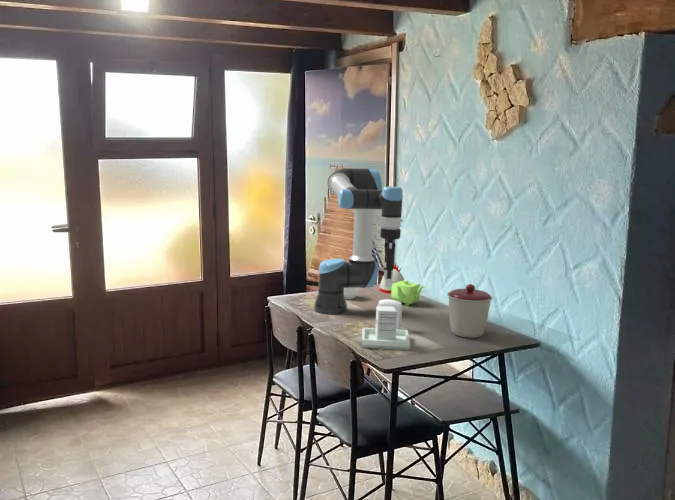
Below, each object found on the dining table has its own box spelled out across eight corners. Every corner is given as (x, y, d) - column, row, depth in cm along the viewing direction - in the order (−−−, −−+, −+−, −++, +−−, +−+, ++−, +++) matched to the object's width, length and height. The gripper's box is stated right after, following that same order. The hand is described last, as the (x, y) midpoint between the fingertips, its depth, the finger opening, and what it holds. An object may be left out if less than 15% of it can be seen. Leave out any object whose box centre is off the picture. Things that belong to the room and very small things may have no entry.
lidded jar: (335, 295, 318) (336, 277, 316) (356, 295, 319) (357, 277, 318) (338, 300, 307) (338, 281, 306) (359, 300, 309) (360, 281, 307)
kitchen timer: (383, 286, 341) (384, 259, 338) (408, 289, 336) (409, 262, 334) (376, 292, 328) (377, 264, 325) (402, 295, 323) (404, 266, 321)
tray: (361, 347, 237) (361, 339, 237) (362, 334, 253) (362, 327, 252) (409, 350, 236) (409, 342, 236) (407, 337, 252) (407, 329, 252)
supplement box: (374, 336, 248) (376, 305, 245) (393, 337, 248) (394, 306, 246) (376, 342, 240) (378, 310, 238) (395, 343, 241) (397, 311, 239)
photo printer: (401, 328, 264) (403, 299, 262) (399, 331, 260) (401, 302, 258) (378, 325, 267) (379, 297, 265) (375, 328, 263) (376, 299, 261)
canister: (435, 332, 261) (438, 282, 257) (465, 325, 271) (468, 278, 268) (468, 343, 246) (472, 291, 243) (498, 336, 257) (503, 286, 253)
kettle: (424, 306, 301) (425, 283, 299) (396, 307, 298) (397, 284, 296) (413, 299, 316) (414, 277, 314) (386, 299, 312) (387, 277, 310)
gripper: (402, 232, 225) (399, 290, 228) (399, 224, 249) (396, 276, 253) (381, 232, 225) (378, 289, 229) (380, 223, 250) (377, 275, 253)
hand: (387, 283), depth 241 cm, fingers open, 13 cm apart
